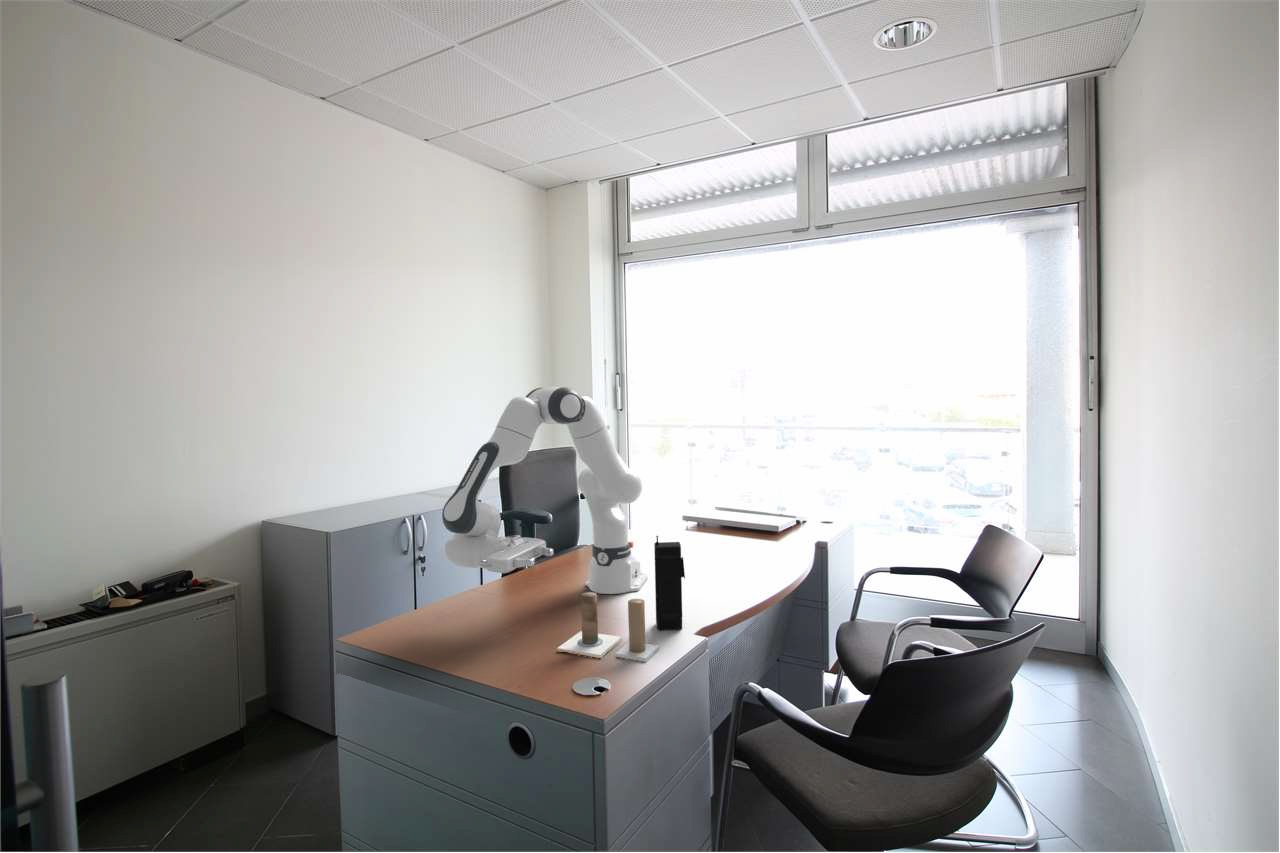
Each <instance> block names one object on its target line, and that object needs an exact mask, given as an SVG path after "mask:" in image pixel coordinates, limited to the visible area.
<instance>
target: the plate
mask: <svg viewBox="0 0 1280 853" xmlns="http://www.w3.org/2000/svg"><path fill="white" fill-rule="evenodd" d="M620 641H621V642H623V637H622V636H618V635H610V634H603V633H598V642H597V643H596V644H592V645H587V644H583V643H582V630H581V631H578V632H577V633H576V634H575V635H573V636H572V637H570V638H569V639H568V640H566V641H565V642H564V643H562V644H561V645H560V646H558V647H557V649H556V650H563V651H569V652H575V653H579V654H585V655H590V656H595V657H602V656H603V655H604V654H605V653H607V652H608V651H609V650H611V649H612V648H613V647H614V646H615V645H617V644H618V643H619V642H620ZM621 642H620V643H621ZM620 643H619V644H620ZM619 644H618V645H619ZM618 645H617V646H618ZM615 647H616V646H615ZM615 647H614V648H615ZM614 648H613V649H614ZM613 649H612V650H613ZM612 650H611V651H612ZM609 652H610V651H609ZM609 652H608V653H609ZM608 653H607V654H608ZM602 658H603V657H602Z"/></svg>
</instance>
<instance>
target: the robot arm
mask: <svg viewBox="0 0 1280 853" xmlns="http://www.w3.org/2000/svg"><path fill="white" fill-rule="evenodd" d="M600 412H601V411H600V410H599V408H598V406H597V405H596V403H595V402H594V400H593V399H592V398H591V397H590V396H587V395H580V394H579V393H578V392H577V391H575V390H573V389H572V388H569V387H564V386H563V387H561V386H548V387H538V388H534V389H533V390H531V391H530V392H529V393H528V394H526V396H515V397H512V399H511V400H510V401H509V402H508V403H507V405H506V407H505V409H504V410H503V412H502V414H501V416H500V418H499V420H498V423H497V424H496V427H495V430H494V432H493V433H492V435H491V437H490V438H489V439H488V441H487V442H486V443H484V444H483V445H482V446H480V448H479V450H477V452H476V453H475V455H474V457H473V459H472V460H471V462H470V464H469V466H468V468H467V470H466V472H465V473H464V476H463V477H462V478H461V480H460V482H459V485H458V486H457V487H456V488H455V491H454V492H453V493H452V494H451V496H450V497H449V498H448V500H447V501H446V502H445V504H444V506H443V508H442V513H441V516H442V517H441V518H442V519H441V520H442V523H443V525H444V528H446V530H448V531H449V532H450V533H454V534H453V535H452V536H451V537H448V539H447V541H446V543H445V547H444V548H445V549H444V550H445V555H446V558H447V560H448V561H449V562H450V563H451V564H453V565H456V566H457V567H463V568H466V569H467V568H468V569H479V568H482V569H484V570H486V571H489V572H493V573H496V574H498V573H499V574H507V573H510V572H513V571H514V570H516V569H517V568H523V567H524V568H525V567H532V566H535V564H536V563H535V561H536V559H538V558H539V557H541V556H545V557H552V556H553V555H555V554H554V549H553V548H551V547H547V543H546V542H547V541H545V539H543V538H542V539H540V538H535V537H533V538H532V537H525V536H524V537H521V535H520V534H513V535H508V536H498V535H499V532H500V528H501V525H502V516H501V513H500V511H499V510H498V509H497V508H496V507H495V506H493V505H490V504H487V503H485V502H481V501H479V496H480V494H481V493H482V492H483V489H484V487H485V484H486V483H487V481H488V479H489V478H490V475H491V474H492V473H493V472H494V471H495V470H496V469H498V468H501V467H503V466H511V465H515V464H518V463H520V462H521V461H522V460H524V459H525V458H526V456H527V455H528V453H529V452H530V449H531V446H532V443H533V441H534V438H535V435H536V432H537V430H538V429H539V427H540V426H541V425H542V424H546V425H547V424H548V425H555V424H556V425H557V424H558V425H559V424H561V425H566V427H567V428H568V431H569V433H570V437H571V439H572V441H573V444H574V447H575V449H576V451H577V454H578V457H579V459H580V460H581V462H583V464H585V465H586V466H587V467H586V468H584V469H583V470H581V472H580V473H579V475H578V478H577V484H578V485H577V486H578V489H579V491H580V492H581V493H582V495H583V497H584V499H585V501H586V503H587V506H588V510H589V512H590V517H591V521H592V522H591V523H592V535H593V536H592V537H593V538H592V539H593V544H592V546H591V547H592V548H591V553H592V554H591V556H592V558H591V560H590V561H589V567H588V568H589V570H588V580H587V581H585V586H586V587H588V588H589V590H590V592H593V593H596V594H602V595H603V594H604V595H614V594H615V595H616V594H625V593H629V592H630V593H631V592H637V591H640V590H641V588H642V587H643V585H644V584H645V582H646V581H647V580H648V578H649V577H648V575H647V574H645V573H641V563H640V560H638V559H637V558H636V557H635V556H634V555H633V554H632V550H631V549H632V548H634V542H633V541H629V535H628V534H629V532H628V530H629V529H628V526H629V525H628V520H627V519H628V518H627V517H626V515H625V514H624V513H623V510H622V509H621V507H620V505H624V504H627V505H628V504H632V503H635V502H636V501H637V500H638V498H639V497H640V496H641V493H642V488H643V485H642V481H641V478H640V477H639V475H637V473H635V472H634V471H633V470H631V468H630V467H629V466H628V465H627V464H626V462H625V461H624V459H623V458H622V457H621V456H620V454H619V452H618V451H617V449H616V448H615V446H614V444H613V441H612V439H611V437H610V434H609V432H608V429H607V427H606V424H605V421H604V419H603V417H602V414H601V413H600Z"/></svg>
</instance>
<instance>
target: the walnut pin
mask: <svg viewBox="0 0 1280 853" xmlns="http://www.w3.org/2000/svg"><path fill="white" fill-rule="evenodd" d="M580 607H581V608H580V610H581V611H580V612H581V631H582V643H583V644H587V645H592V644H596V643H597V642H598V634H599V623H598V620H599V619H598V593H596V592H593V591H587V592H583V593H581V594H580Z"/></svg>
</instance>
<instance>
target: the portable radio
mask: <svg viewBox="0 0 1280 853" xmlns="http://www.w3.org/2000/svg"><path fill="white" fill-rule="evenodd" d="M655 537H656V542H654V579H655V580H654V583H655V584H654V588H655V591H654V592H655V623H656V624H655V625H656V629H658V630H659V631H672V630H673V631H675V630H676V631H677V630H678V631H679V630H682V629H683V595H682V594H683V590H682V589H683V588H682V587H683V586H682V585H683V584H682V582H683V581H682V578H683V579H686V575H685V564H684V563H685V562H684V557H683V556H682V545H681V542H680V541H670V542H669V541H668V542H667V541H666V542H665V541H664V542H659V535H656V536H655Z"/></svg>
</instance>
